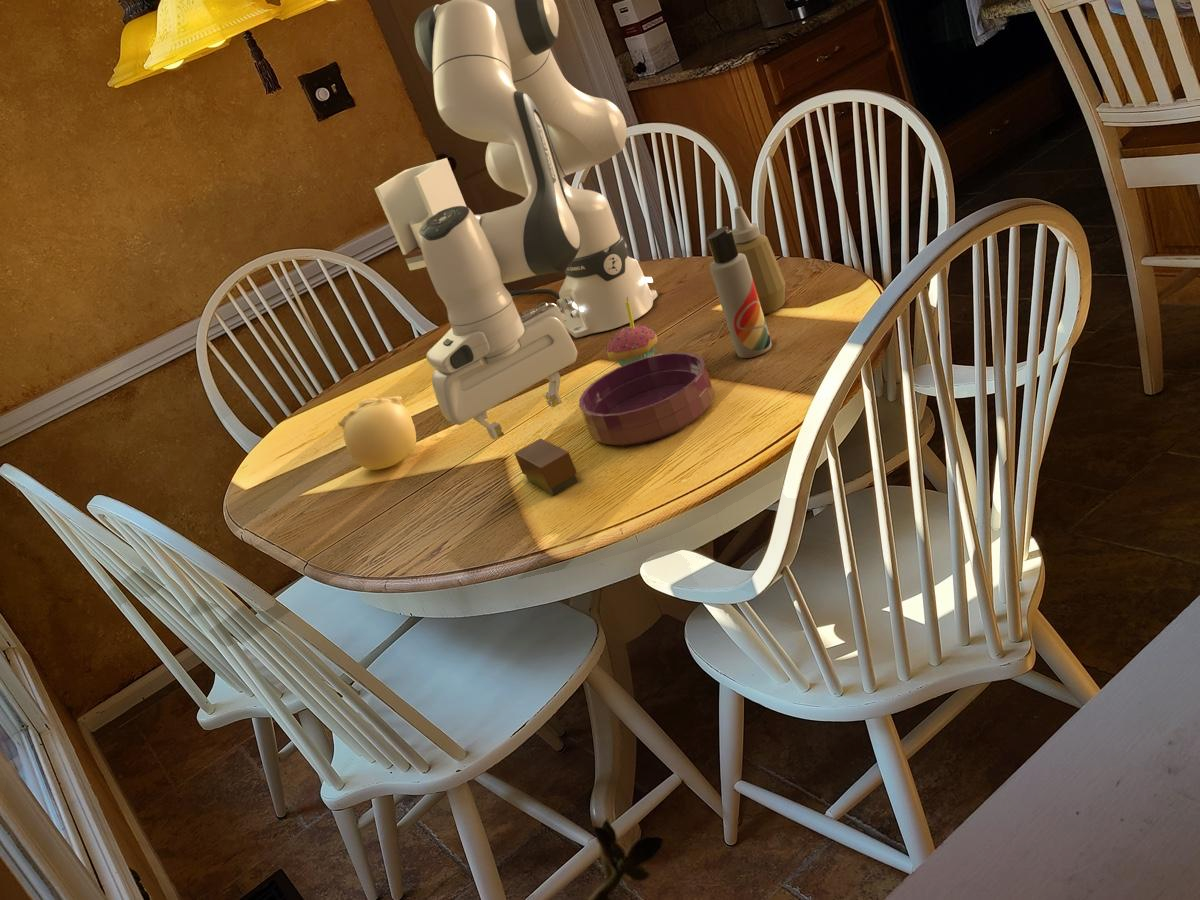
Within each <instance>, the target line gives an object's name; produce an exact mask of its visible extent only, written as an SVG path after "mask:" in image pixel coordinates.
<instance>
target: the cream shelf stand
mask: <svg viewBox="0 0 1200 900" xmlns="http://www.w3.org/2000/svg"><path fill="white" fill-rule="evenodd" d="M374 191H375V194H376V196H377V198H378V200H379V203H380V205H381V207H382V210H383V212H384V215H385V216H386V219H387V221H388V224H389V226H390V229H391V230H392V232H393V233H392V234H393V235H394V237H395V239H396V242H397V244H398V247H399V249H400V251H401V253H402V256H403V258H404V261H405V263H406V264H407V265H406V266H407V267H408V270H409V271H415V270H419V269H423V268H427V267H426V264H425V261H424V258H423V255H422V251H421V247H420V241H419V230H420V228H421V227H422V225H423V224H424V223H425V222H426V221H427V220H428V219H429V218H430V217H432V216H434V215H435V214H437V213H438V212H440V211H442V210H444V209H447V208H450V207H455V206H465V207H467V203H466V202H465V200H464V197H463V194H462V192H461V190H460V187H459V185H458V182H457V180H456V176H455V174H454V172H453V170H452V167H451V164H450V161H449V160H448V157H445V158H442V159H438V160H435V161H432V162H428V163H425V164H421V165H418V166H417V165H416V166H414V167H410V168H407V169H404V170H403V171H401V172H399V173H397V174H396V175H394V176H393V177H391V178H389V179H388V180H386V181H385V182H382V183H381V184H379V185H378V186H377V187H374Z"/></svg>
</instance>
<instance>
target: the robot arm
mask: <svg viewBox="0 0 1200 900" xmlns="http://www.w3.org/2000/svg"><path fill="white" fill-rule="evenodd" d="M559 25H560V17H559V10H558V7H557V4H556V1H555V0H449V1H447V2H445V3H443V4H439V3H437V4H434V5H431V6H429V7H428V8H426V9H424V10H423V11H422V12H421V13H420V14H419V15H418V18H417V19H416V22H415V24H414V30H413V31H414V33H413V34H414V41H415V48H416V50H417V54H418V56H419V58H420V60H421V62H422V64H423V66H424V67H425V69H426V70H427V71H428V72H429V73H431V74H432V83H433V84H432V85H433V94H434V101H435V106H436V109H437V112H438V114H439V116H440V118H441V120H442V121H443V122H444V123H445V124H446V126H447V127H449V128H450V129H451V130H452V131H453V132H455V133H457V134H458V135H460V136H462V137H465V138H466V139H470V140H473V141H477V142H482V143H488V144H487V146H486V150H485V167H486V169H487V173H488V175H489V177H490V178H491V179H492V181H493V182H494V183H495V184H496V185H497V186H498V187H499V188H502V190H504V191H507V192H510V193H513V194H516V195H519V196H521V197H523V198H525V199H523V201H521V202H520V203H518V204H515V205H511V206H507V207H504V208H501V209H499V210H494V211H491V212H485V213H481V214H479V213H478V214H474V212H473V211H472V210H471V208H469V207H468V206H466V207H465V206H455V207H450V208H447V209H444V210H442V211H440V212H438V213H437V214H435V215H434V216H432V217H430V218H429V219H428V220H427V221H426V222H425V223H424V224H423V225H422V227H421V228H420V230H419V241H420V247H421V251H422V255H423V258H424V261H425V264H426V267H425V268H426V270H427V273H428V275H429V278H430V281H431V283H432V286H433V288H434V290H435V293H436V294H437V296H438V297H439V298H440V299H441V300H442V302H443V303H444V306H445V308H446V312H447V320H448V322H449V325H450V329H448V331H446V333H445V334H444V335H443V336H442V337H441V338H440V339H439V340H438V341H437V342H436V343H435V344H434V345H433V346H432V347H431V348H430V349H429V350H428V351H427V353H426V355H425V356H426V361H427V362H428V364H429V365H430V366H431V367H432V368H433V369H434V370H433V372H432V376H431V383H432V388H433V392H434V396H435V398H436V401H437V402H436V403H437V404H438V407H439V409H440V412H441V415H442V416H443V417H444V419H445V420H446V421H448V422H450V423H451V424H454V425H457V426H461V425H463V424H465V423H467V422H469V421H470V420H472V419H473V420H474V421H476V422H477V423H479V424H480V425H481V426H483V427H484V428H486V430H487V433H488V435H489V437H490V438H491V439H492V440H494V441H495V440H497V439H499V438H501V437H503V436H504V435H505V433H504V430H502V426H501V424H500V423H498V422H496V421H493V422H491V423H490V422H489V421H487V419H488V418H489V415H488V414H487V411H488V410H490V409H492V408H494V407H495V406H498V405H499V404H501V403H503V402H505V401H506V400H507V401H508V400H509V399H510V398H512V397H514V396H516V395H517V394H520V393H521V392H523V391H525V390H527V389H528V388H530V387H532V386H535V385H536V384H538V383H539V382H541V381H543V380H548V391H547V392H546V393H544V394H543V397H544V399H546V403H547V405H548V406H549V407H551V408H554V407H557V406H558V405H559V404H560V405H561V403H562V398H561V396H560V393H559V392H560V387H561V380H562V379H561V375H560V373H559V372H560V371H561V370H563V369H565V368H566V367H569V366H570V365H572V364H574V363H576V361H577V358H578V350H577V347H576V345H575V343H574V340H573V339H572V337H571V336H573V337H574V338H576V339H577V338H583V337H586V336H588V335H592V334H597V333H601V332H607V331H610V330H615V329H617V328H620V327H623V326H625V325H627V324H630V322H629V317H628V312H627V307H626V302H627V297H628V301H629V302H630V306H631V311H632V316H633V321H634V322H635V320H638V319H639V318H641V317H642V316H644V315H646V313H648V312H649V311H650V310H651V309H652V308H653V305H654V301H655V299H657V298H658V296H659V294H658V292H657V290H656V289H650V286H649V284H648V283H654V280H653V278H652V276H645V275H644V272H643V269H642V267H641V266H640V264H639V262H638V260H637V259H636V258H633V257H630V256H629V254H630V253H629V249H628V245H627V242H626V241H625V239H624V237H623V235H621V234H620V232H619V229H618V226H617V223H616V220H615V217H614V214H613V211H612V208H611V206H610V202H609V201H608V199H607V198H606V197H605V196H604V195H603V194H601V193H600V192H597V191H595V190H591V189H583V188H576V187H573V186H571V185H569V184H568V183H567V181H566V180H565V179H564V178H565V177H567V176H569V175H571V174H574V173H577V172H580V171H584V170H586V169H589V168H592V167H595V166H597V165H600V164H602V163H604V162H606V161H607V160H609V159H611V158H613V157H614V156H616V155H617V154H619V153H621V152H622V151H623V149H624V147H625V145H626V141H627V137H628V128H627V122H626V119H625V117H624V114H623V112H622V111H621V109H619V107H618V106H617V105H616V104H615V103H614V102H612V101H611V100H609V99H606V98H603V97H596V96H594V95H593V96H592V95H589V94H587V93H586V92H582V91H581V90H579V89H577V88H576V87H575V86H573V85H572V84H571V83H570V82H568V80H567V79H566V78H565V76H564V74H563V73H562V71H561V69H560V67H559V65H558V63H557V61H556V59H555V56H554V54H553V52H552V50H551V48H553V46H554V45H555V43H556V41H557V39H558V38H559ZM563 272H564V274H565V278H564V281H563V283H562V284H561V287H560V289H559V291H556V290H554V289H550V288H534V289H520V290H512V291H511V290H510V291H509V290H508V289H507V288H506V286H505V285H504V284H508V283H512V282H516V281H520V280H523V279H524V280H525V279H527V278H531V277H536V276H545V275H551V274H557V273H563ZM535 289H536V290H535ZM538 294H548V295H552V296H554V298H556V299H557V300H556V304H555V303H554V302H546V301H544V302H541V303H538V304H537V305H535V307H533V308H530V309H527V310H526V311H523V312H521V313H519V312H518V309H517V306H516V304H515V302H514V299H513V297H514V296H522V295H538Z"/></svg>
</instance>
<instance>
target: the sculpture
mask: <svg viewBox="0 0 1200 900" xmlns="http://www.w3.org/2000/svg"><path fill="white" fill-rule="evenodd" d="M337 425H339V426H340V427H341V428H342V432H343V434H342V435H343V440H344V443H345V446H346V449H347V451H348V453H349V455H350V456H351V458H352V459H353V460H354V461H355V462H356V464H357V465H359V466H360V467H362V468H363V469H367V470H372V471H373V470H374V471H375V470H382V469H386V468H389V467H392V466H394V465H396V464H398V463H400V462H401V461H403V460H405V458H406V457H408V456H409V455H410V454H411V453H412V452H413V450H414V448H415V446H416V443H417V431H416V427H415V424H414V421H413V418H412V416H411V414H410V412H409V410H408V409H407V408H406V407H405V406H404V405H403V397H402V396H401V395H393V396H385V397H381V398H378V397H377V398H376V397H368V398H364V399H363V400H361V401H360V402H359V403H358V405H356V406H355V407H354V408H353V409H351V410H349V411H348V412H347V413H346V414H345V415H344V416H342V417H341V418H340V419H339V420H338V421H337Z"/></svg>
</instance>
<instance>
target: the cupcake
mask: <svg viewBox="0 0 1200 900" xmlns="http://www.w3.org/2000/svg"><path fill="white" fill-rule="evenodd" d="M626 307H627V312H628V317H629V322H630V323H629V326H625V327H623V328H621V329H620V330H618V331H617V332H616V333H615V334H614V335H613V336H611V337H610V339H609V341H608V342H607V343H606V344H607V345H606V349H605V350H606V351H607V352H606V354H607V358H608V359H609V360H611V361H615V362H617V363H618V365H620V367H621V366H623V365H626V364H628V363H630V362H633V361H636V360H639V359H642V358H645V357H649V356H653V355H655V346H656V344H657V343H658V335H657V333H656V331H655V330H654V329H653V328H650V327H649V325H647V326H646V325H643V324H642V325H641V324H639V325H637V324H636V325H635V323H634V322H635V320H634V321H633V316H632V311H631V306H630V302H629V301H628V297H627V302H626Z"/></svg>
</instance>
